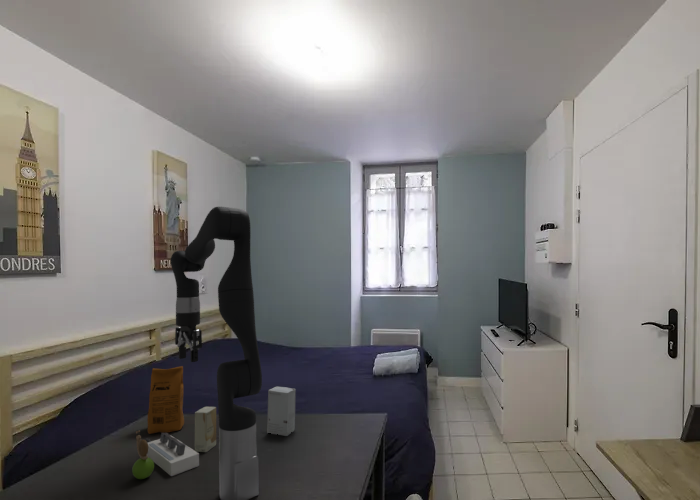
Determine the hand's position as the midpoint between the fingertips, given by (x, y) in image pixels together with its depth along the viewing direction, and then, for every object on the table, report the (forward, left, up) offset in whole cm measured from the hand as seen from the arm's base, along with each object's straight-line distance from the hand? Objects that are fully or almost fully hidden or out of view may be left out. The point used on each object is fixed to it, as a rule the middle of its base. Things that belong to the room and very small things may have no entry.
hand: (188, 360), depth 134 cm
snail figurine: (-11, +18, -28) cm, 35 cm away
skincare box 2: (-14, -27, -28) cm, 41 cm away
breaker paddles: (-6, +8, -24) cm, 26 cm away
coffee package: (+21, -1, -28) cm, 35 cm away
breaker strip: (-1, +8, -28) cm, 29 cm away
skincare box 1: (-6, -3, -28) cm, 29 cm away
